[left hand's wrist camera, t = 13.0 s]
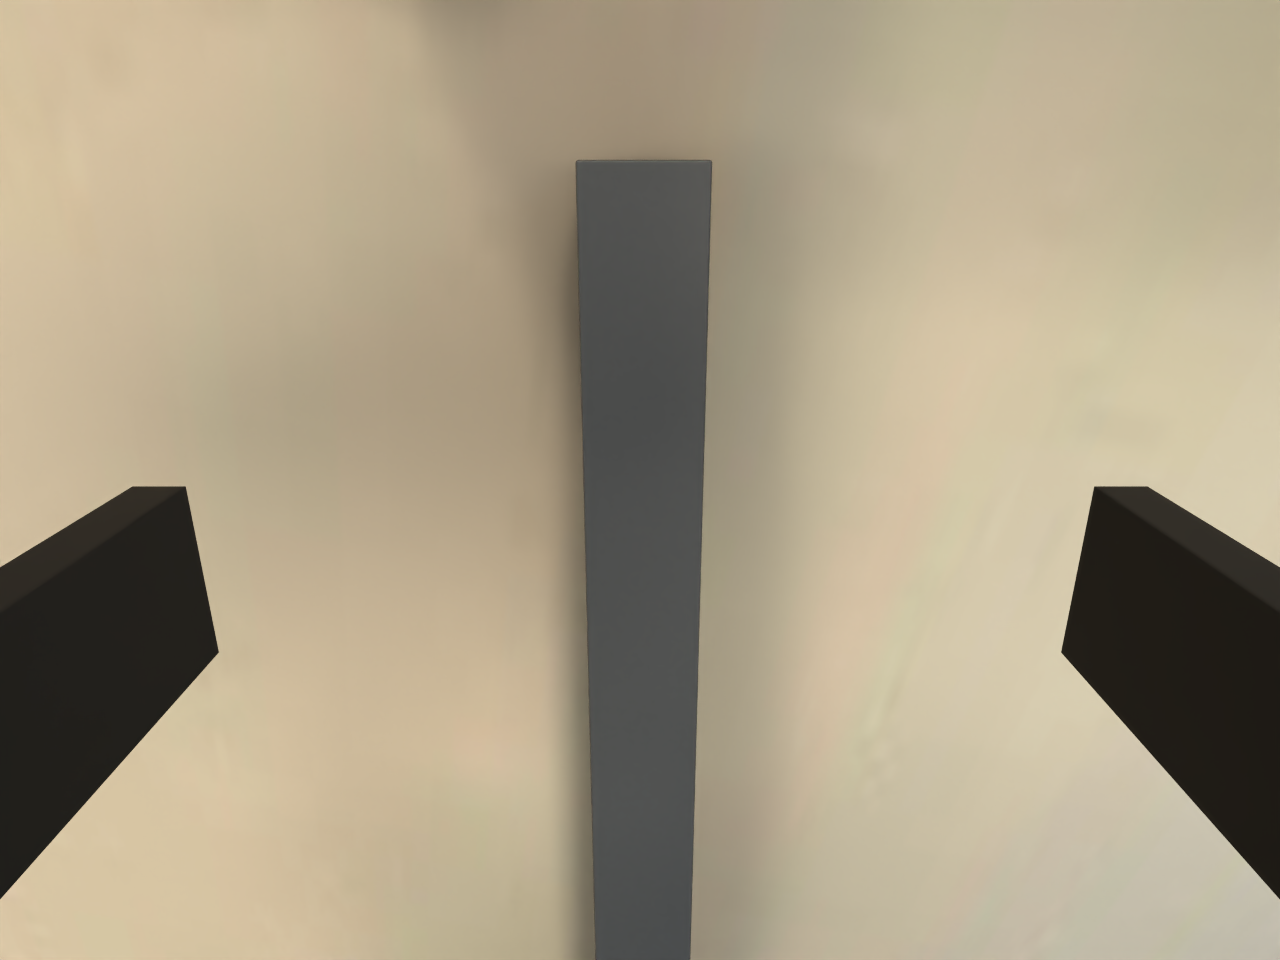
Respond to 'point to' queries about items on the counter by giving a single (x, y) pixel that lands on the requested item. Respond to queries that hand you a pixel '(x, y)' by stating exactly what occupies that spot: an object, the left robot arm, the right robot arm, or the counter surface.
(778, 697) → the counter surface
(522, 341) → the counter surface
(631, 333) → the bar
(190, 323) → the counter surface
